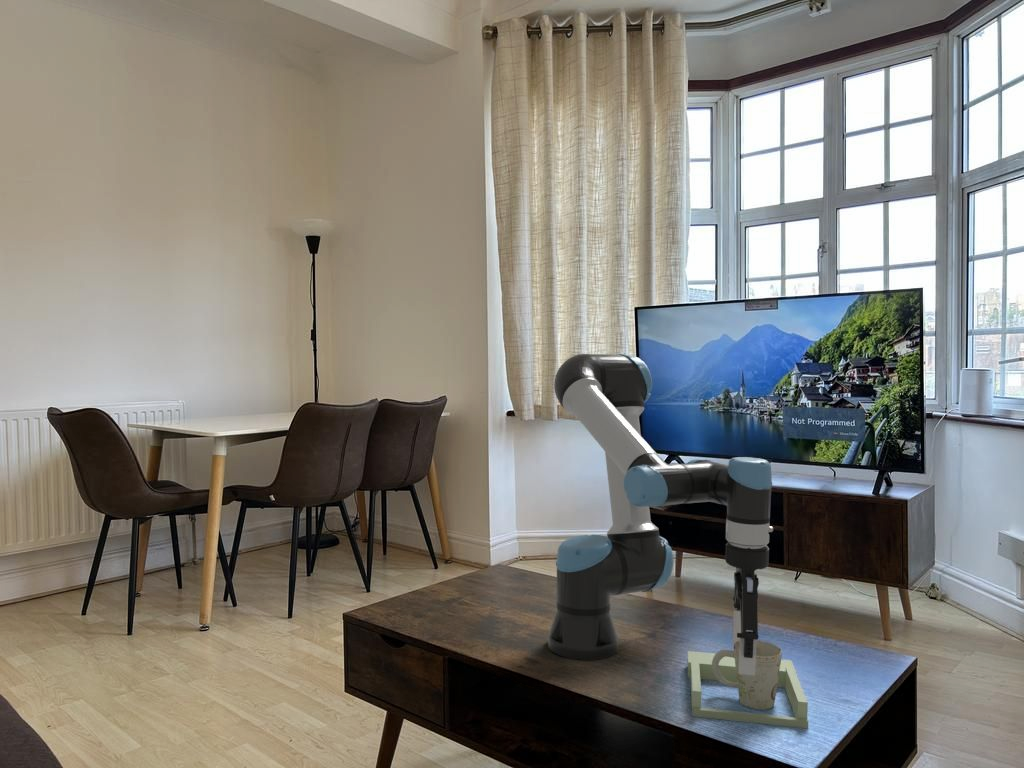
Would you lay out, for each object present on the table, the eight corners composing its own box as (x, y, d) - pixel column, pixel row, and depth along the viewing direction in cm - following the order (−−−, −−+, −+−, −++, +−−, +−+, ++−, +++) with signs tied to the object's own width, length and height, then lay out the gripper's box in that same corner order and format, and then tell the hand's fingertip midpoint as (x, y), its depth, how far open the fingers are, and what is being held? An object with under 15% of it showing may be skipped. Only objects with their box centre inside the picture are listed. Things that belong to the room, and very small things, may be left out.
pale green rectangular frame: (689, 715, 129) (689, 693, 129) (687, 665, 151) (687, 646, 151) (811, 728, 125) (811, 705, 125) (791, 675, 147) (791, 655, 147)
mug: (775, 717, 129) (776, 660, 129) (703, 699, 136) (704, 645, 136) (785, 699, 136) (786, 645, 136) (717, 683, 143) (718, 632, 143)
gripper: (778, 563, 122) (773, 690, 123) (761, 529, 146) (757, 635, 147) (730, 560, 124) (726, 685, 124) (721, 526, 148) (718, 631, 149)
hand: (743, 658), depth 136 cm, fingers open, 13 cm apart
